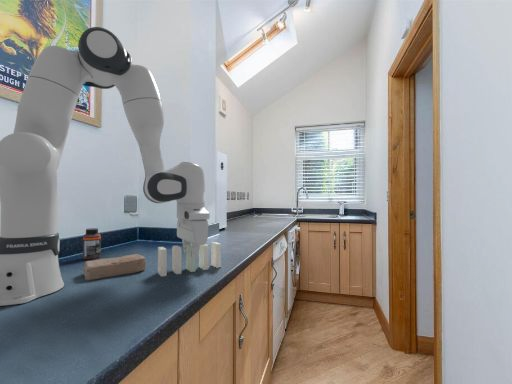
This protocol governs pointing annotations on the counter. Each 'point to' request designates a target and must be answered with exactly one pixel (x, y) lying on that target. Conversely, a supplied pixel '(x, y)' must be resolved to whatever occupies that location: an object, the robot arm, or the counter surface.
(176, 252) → the domino
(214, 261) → the domino
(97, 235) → the supplement bottle
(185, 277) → the counter surface
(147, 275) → the counter surface
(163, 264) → the domino
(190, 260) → the pale green domino
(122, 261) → the brick
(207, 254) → the domino
